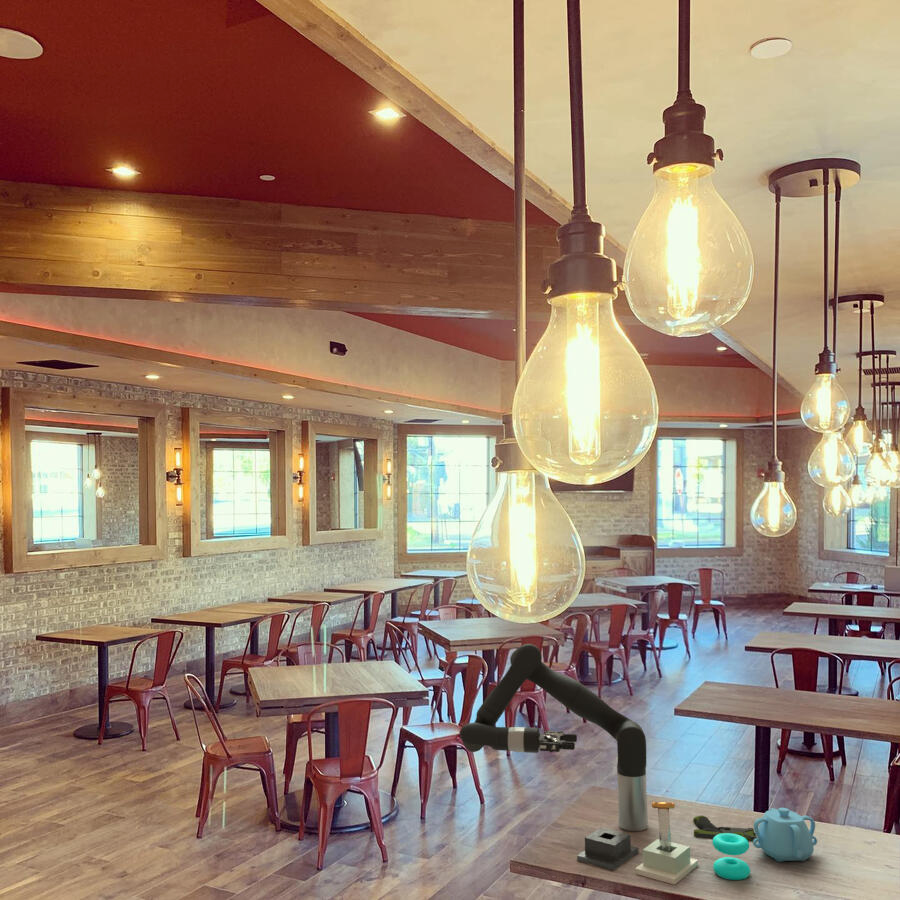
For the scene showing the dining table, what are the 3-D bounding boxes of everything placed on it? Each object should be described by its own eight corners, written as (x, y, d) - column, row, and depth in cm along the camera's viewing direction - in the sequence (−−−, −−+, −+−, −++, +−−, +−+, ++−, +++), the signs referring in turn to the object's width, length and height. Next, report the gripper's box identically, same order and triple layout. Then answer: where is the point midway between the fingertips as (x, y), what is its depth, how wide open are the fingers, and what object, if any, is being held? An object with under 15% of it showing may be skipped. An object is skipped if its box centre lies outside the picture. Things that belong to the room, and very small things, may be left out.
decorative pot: (825, 855, 260) (823, 809, 260) (799, 871, 249) (797, 823, 250) (773, 840, 272) (771, 796, 272) (746, 855, 261) (745, 808, 262)
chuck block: (603, 843, 272) (602, 823, 272) (638, 852, 264) (638, 832, 264) (577, 860, 259) (576, 840, 259) (613, 870, 252) (612, 849, 252)
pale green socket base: (659, 855, 262) (659, 834, 262) (698, 865, 254) (697, 844, 255) (635, 873, 249) (634, 852, 250) (674, 884, 242) (674, 862, 242)
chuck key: (654, 865, 251) (651, 804, 252) (654, 861, 254) (651, 800, 255) (678, 866, 250) (674, 805, 250) (678, 862, 253) (674, 800, 254)
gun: (750, 826, 285) (758, 845, 271) (690, 822, 289) (694, 840, 274) (750, 818, 285) (757, 837, 271) (690, 814, 289) (694, 832, 274)
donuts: (717, 829, 256) (752, 835, 250) (718, 864, 255) (753, 871, 250) (708, 840, 247) (744, 847, 242) (709, 876, 247) (745, 884, 241)
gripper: (520, 733, 267) (573, 736, 264) (526, 721, 281) (577, 723, 278) (521, 758, 267) (574, 761, 263) (527, 745, 281) (577, 747, 277)
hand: (575, 742), depth 271 cm, fingers open, 8 cm apart
